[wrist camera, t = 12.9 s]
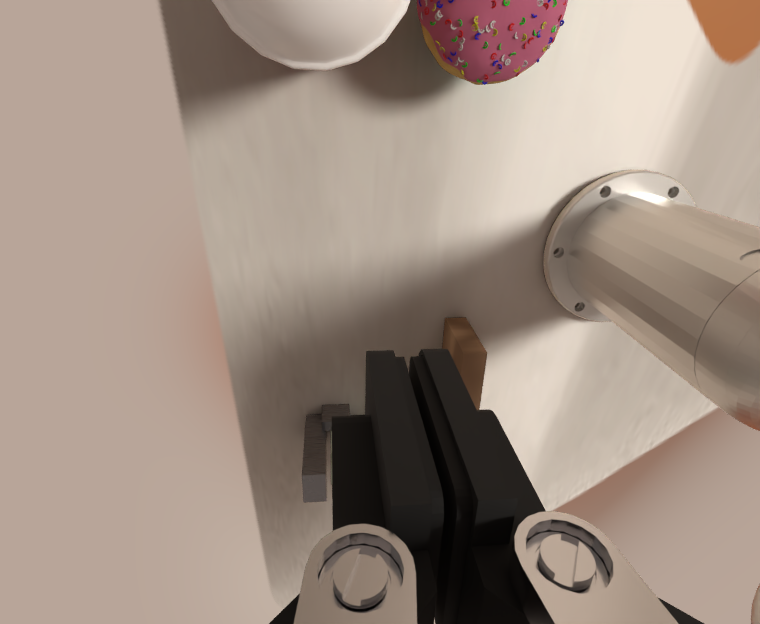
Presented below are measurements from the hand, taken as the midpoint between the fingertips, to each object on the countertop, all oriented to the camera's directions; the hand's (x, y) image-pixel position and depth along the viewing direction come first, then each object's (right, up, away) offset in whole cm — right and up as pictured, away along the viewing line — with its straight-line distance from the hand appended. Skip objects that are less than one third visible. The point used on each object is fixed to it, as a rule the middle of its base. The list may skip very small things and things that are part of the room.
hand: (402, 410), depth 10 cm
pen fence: (+6, -4, +33) cm, 33 cm away
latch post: (-5, -8, +33) cm, 35 cm away
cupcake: (+5, +22, +21) cm, 31 cm away
